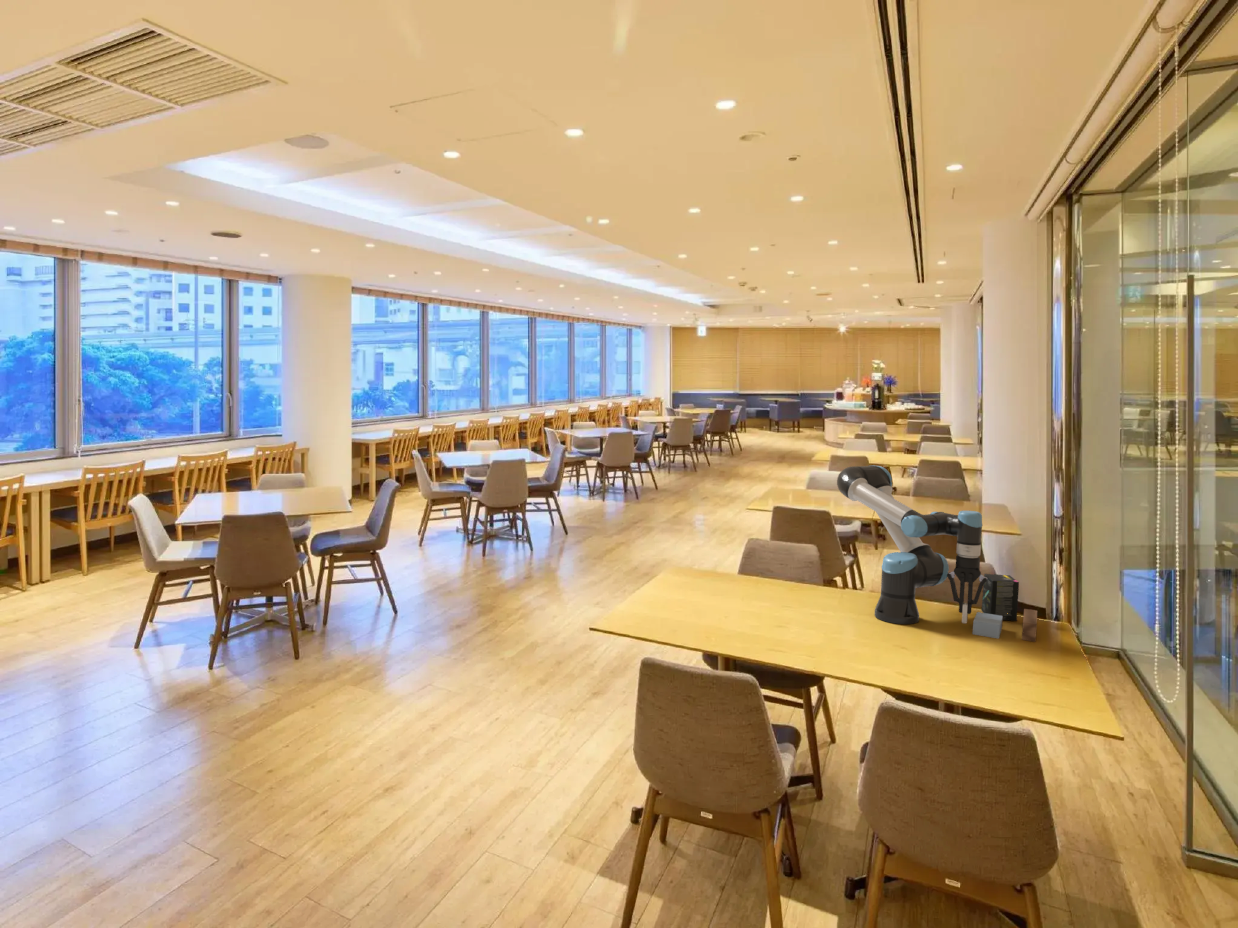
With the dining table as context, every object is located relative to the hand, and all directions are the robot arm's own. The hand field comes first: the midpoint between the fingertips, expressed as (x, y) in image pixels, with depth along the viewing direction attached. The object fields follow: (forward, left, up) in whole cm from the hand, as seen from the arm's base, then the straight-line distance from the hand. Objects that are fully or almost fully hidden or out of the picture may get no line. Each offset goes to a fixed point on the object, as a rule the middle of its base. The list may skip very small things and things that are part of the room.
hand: (964, 621), depth 255 cm
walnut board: (+20, +6, -2) cm, 21 cm away
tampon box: (+10, +23, -2) cm, 25 cm away
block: (+7, 0, -2) cm, 8 cm away
